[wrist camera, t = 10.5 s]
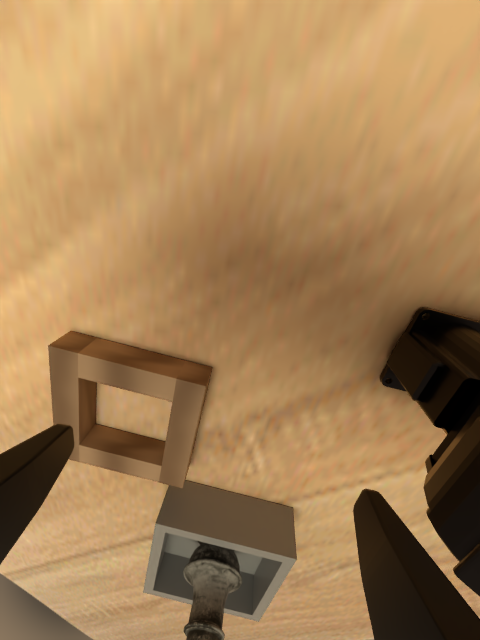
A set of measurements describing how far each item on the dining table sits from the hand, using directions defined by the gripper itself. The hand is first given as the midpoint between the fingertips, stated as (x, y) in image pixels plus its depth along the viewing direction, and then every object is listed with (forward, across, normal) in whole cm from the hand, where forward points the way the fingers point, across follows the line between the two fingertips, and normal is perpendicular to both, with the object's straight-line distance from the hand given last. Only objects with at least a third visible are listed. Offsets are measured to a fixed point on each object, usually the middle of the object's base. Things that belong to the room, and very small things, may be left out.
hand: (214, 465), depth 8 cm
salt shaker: (+12, -2, +27) cm, 30 cm away
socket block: (+13, +8, +11) cm, 19 cm away
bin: (+13, -2, +27) cm, 30 cm away
